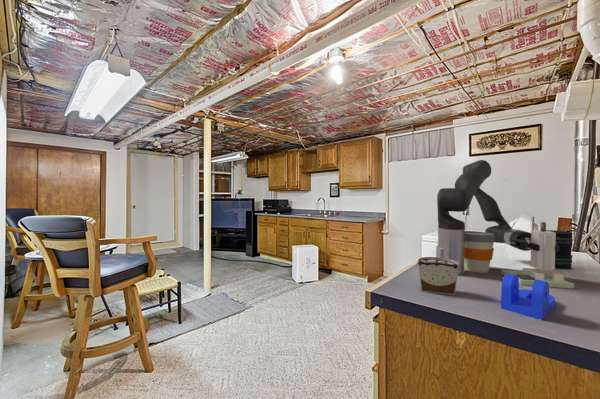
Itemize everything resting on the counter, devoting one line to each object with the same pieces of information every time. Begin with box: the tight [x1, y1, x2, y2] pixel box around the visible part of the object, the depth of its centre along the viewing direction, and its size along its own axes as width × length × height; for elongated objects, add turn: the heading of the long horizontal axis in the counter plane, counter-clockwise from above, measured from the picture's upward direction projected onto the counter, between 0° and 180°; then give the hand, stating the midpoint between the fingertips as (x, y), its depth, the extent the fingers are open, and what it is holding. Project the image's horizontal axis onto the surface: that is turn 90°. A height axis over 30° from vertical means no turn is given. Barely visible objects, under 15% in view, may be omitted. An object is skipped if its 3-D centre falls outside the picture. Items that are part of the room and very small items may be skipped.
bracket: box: [500, 274, 556, 321], centre depth 73 cm, size 18×8×9 cm, turn 127°
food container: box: [416, 256, 461, 296], centre depth 85 cm, size 12×6×10 cm, turn 71°
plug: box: [530, 221, 556, 271], centre depth 93 cm, size 5×5×16 cm
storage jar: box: [546, 229, 574, 270], centre depth 113 cm, size 10×10×15 cm
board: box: [500, 267, 575, 290], centre depth 94 cm, size 15×13×4 cm
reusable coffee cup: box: [464, 230, 496, 274], centre depth 108 cm, size 13×13×15 cm
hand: (547, 248), depth 91 cm, fingers closed on plug, 5 cm apart
